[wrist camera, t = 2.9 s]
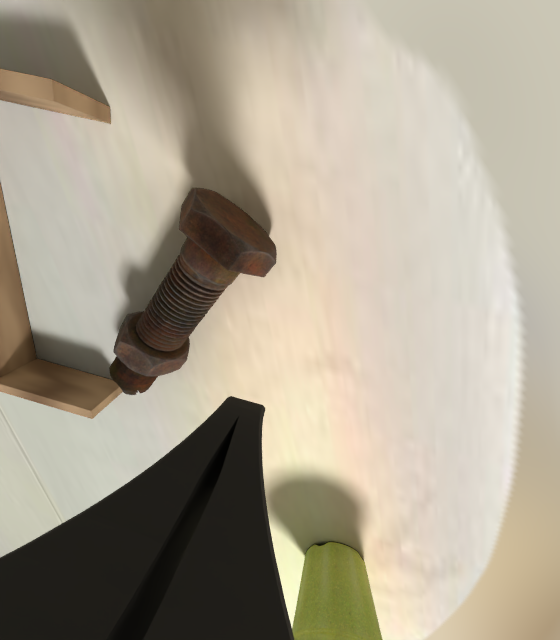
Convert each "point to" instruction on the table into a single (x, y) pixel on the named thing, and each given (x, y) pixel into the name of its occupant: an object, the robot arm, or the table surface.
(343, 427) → the table surface
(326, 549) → the plant pot
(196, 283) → the bolt
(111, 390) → the frame
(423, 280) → the table surface
